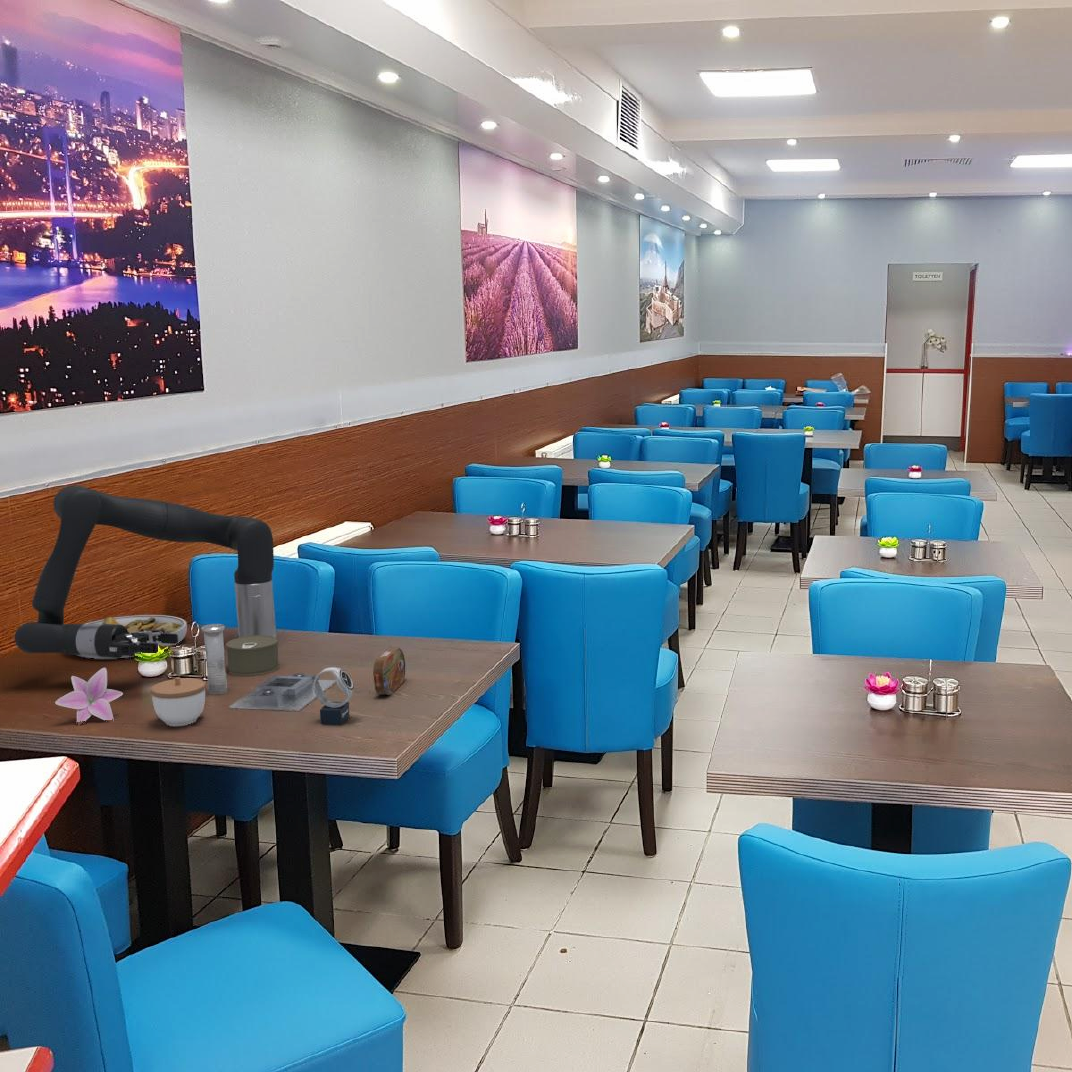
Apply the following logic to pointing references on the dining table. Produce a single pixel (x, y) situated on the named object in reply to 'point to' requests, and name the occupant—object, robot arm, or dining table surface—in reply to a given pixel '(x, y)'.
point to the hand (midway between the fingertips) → (167, 643)
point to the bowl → (147, 626)
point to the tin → (389, 671)
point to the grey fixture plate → (282, 693)
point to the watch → (334, 710)
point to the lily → (90, 697)
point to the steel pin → (215, 658)
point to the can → (252, 655)
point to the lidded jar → (179, 700)
